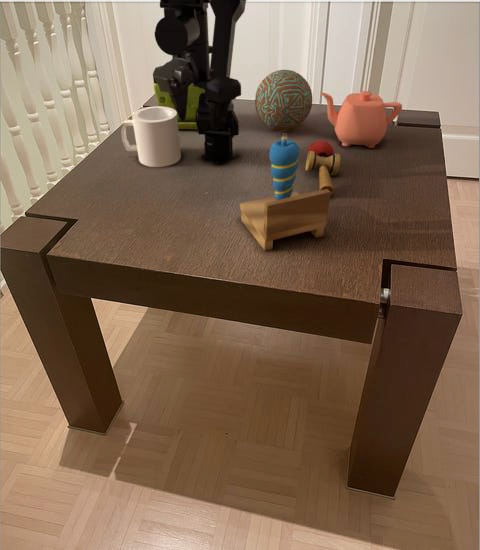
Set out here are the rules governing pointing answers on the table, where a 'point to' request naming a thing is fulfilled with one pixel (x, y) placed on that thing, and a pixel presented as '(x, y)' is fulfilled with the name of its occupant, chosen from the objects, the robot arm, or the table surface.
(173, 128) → the mug
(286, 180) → the ornament
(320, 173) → the kendama
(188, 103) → the flower pot
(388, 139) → the table surface
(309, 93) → the decorative sphere
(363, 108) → the teapot
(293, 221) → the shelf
